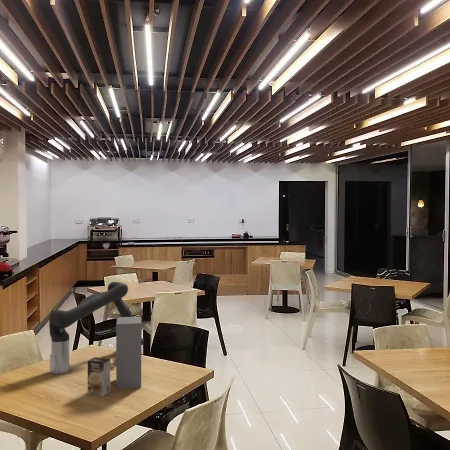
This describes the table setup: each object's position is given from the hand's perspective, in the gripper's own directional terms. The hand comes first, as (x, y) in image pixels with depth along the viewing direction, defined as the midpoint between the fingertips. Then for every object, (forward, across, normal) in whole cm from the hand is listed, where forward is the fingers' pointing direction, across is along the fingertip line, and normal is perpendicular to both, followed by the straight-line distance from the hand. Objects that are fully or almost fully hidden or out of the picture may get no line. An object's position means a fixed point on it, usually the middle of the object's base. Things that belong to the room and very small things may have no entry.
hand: (130, 345), depth 273 cm
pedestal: (+30, 0, +11) cm, 32 cm away
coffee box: (+42, -14, +11) cm, 45 cm away
